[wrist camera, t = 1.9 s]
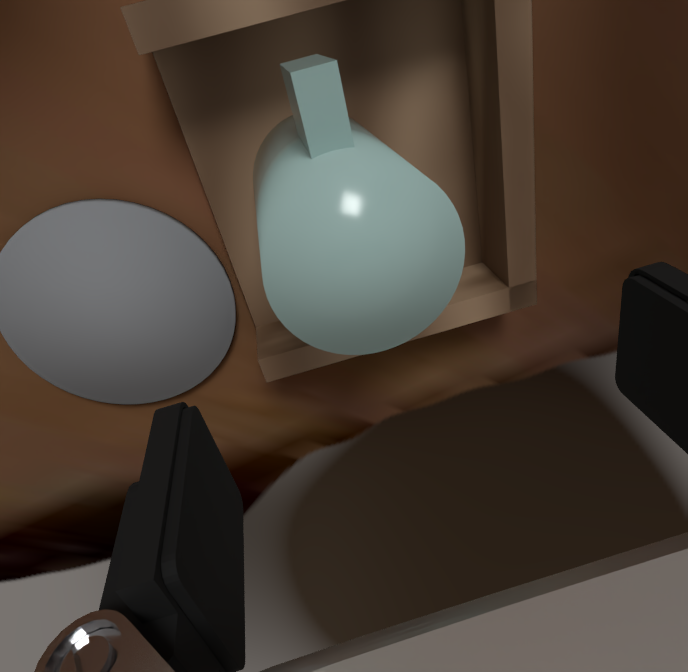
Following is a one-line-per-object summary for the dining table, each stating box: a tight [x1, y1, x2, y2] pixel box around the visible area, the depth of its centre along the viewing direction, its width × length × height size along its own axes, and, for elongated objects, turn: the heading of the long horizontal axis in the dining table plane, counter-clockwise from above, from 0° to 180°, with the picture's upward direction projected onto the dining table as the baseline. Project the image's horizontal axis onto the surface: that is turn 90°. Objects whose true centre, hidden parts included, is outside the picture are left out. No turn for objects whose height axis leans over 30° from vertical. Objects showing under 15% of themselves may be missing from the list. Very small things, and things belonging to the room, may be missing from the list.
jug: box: [253, 54, 465, 355], centre depth 20 cm, size 6×9×11 cm
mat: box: [0, 199, 236, 404], centre depth 27 cm, size 12×12×1 cm
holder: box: [120, 0, 537, 382], centre depth 24 cm, size 15×17×4 cm
